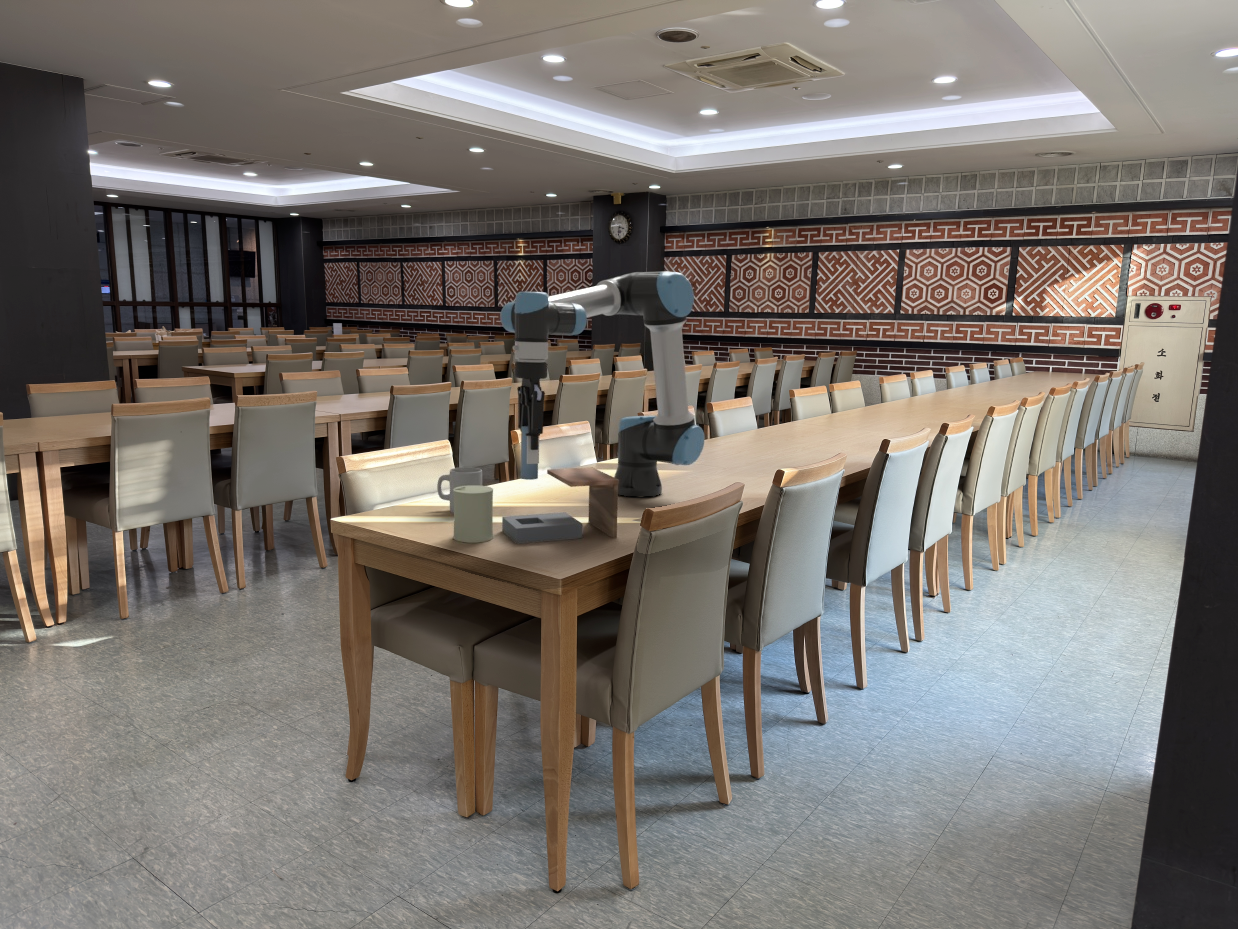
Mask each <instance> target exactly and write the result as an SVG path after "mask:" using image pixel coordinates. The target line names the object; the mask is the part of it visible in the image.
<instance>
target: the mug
mask: <svg viewBox="0 0 1238 929" xmlns="http://www.w3.org/2000/svg"><path fill="white" fill-rule="evenodd" d="M444 481H447V482H449V493H448V494H447V493H446V494H445V493H444V492H443V490H442V484H443V482H444ZM436 485H437V487H436V489H437V495H438V496H439V498H440V499H441V500H444V501H448V502H449V511H450V513H452V514H454V494H453V489H454V488H456V487H460V486H468V485H480V486H483V470H482V469H481V468H479V467H471V466H469V467H468V466H465V467H464V466H463V467H462V466H461V467H454V468H451V469H450V470H449V473H447V474H442V475H441V476H440V477H438V480H437V484H436Z"/></svg>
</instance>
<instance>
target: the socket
mask: <svg viewBox="0 0 1238 929" xmlns="http://www.w3.org/2000/svg"><path fill="white" fill-rule="evenodd" d="M501 519H502V523H501V526H502V527H501V529H502V532H503V533H504V534H505V535H506V536H508V538H510V540H512V541H513V542H514V543H515V544H525V543H526V544H527V543H537V542H538V543H539V542H550V541H563V540H572V539H583V523H582V522H581V521H579V520H578V519H576V518H575V517H573V516H572V515H570V514H569V513H567V512H565V511H564V512H552V513H551V512H550V513H535V514H534V513H533V514H524V515H523V514H518V515H506V516H502V518H501Z"/></svg>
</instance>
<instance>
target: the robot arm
mask: <svg viewBox="0 0 1238 929" xmlns="http://www.w3.org/2000/svg"><path fill="white" fill-rule="evenodd" d="M694 293H695V292H694V289H693V286H692V284H691V282H690V281H689V279H688V278H687V277H686V276H685V275H684V274H683V273H681V272H676V271H669V270H663V271H644V272H643V271H636V272H630V273H626V274H623V275H618V276H615V277H611V278H608V279H603V280H601V281H599V282H598V283H597V284H596V285H595V286H591V287H585V288H581V289H576V290H571V291H566V292H563V293H558V294H553V295H548V293H547V292H543V291H542V292H541V291H519V292H517V294H516V295H515V301H510V302H508V303H506V304H505V305H504V306H503V307H502V309H501V311H500V321H501V322H500V323H501V325H502V327H503V329H505V331H507V332H509V333H514V345H512V350H513V351H514V359H515V360H517V361H515V362H514V369H513V370H514V377H515V378H517V379H521V385H520V386H517V389H516V390H517V398H518V399H517V407H518V409H517V414H518V415H517V416H518V419H517V424H518V425H517V427H518V429H519V430H520V432H521V427H522V426H528V430H529V433H526V436H527V464H538V465H539V464H540V436H541V435H543V433H544V406H545V404H544V402H545V395H546V392H545V390H542V387H541V383H540V381H541V379H547V378H548V363H547V362H546V361H547V360H548V359H549V336H550V335H555V336H568V337H569V336H573V335H575V336H577V335H579V334H581V333H582V332H583V331H584V330H585V329H586V326H587V321H588V319H587V318H591V317H595V316H599V315H604V316H609V317H611V316H615V315H631V316H643V324H644V326H645V328H647V329H649V332H650V342H651V352H652V353H651V354H652V361H653V364H652V365H653V373H654V385H655V395H656V397H655V398H656V405H657V414H656V415H654V414H653V415H651V414H650V415H635V416H626V417H622V418H620V420H619V424H618V431H617V434H618V435H617V437H618V441H617V442H618V443H617V444H618V445H617V446H618V447H617V450H618V451H617V468H616V471H615V474H614V476H613V477H614V478H616V479H618V480H619V484H618V494H619V495H618V496H620V495H624V496H623V497H626V496H653V497H656V496H655V495H658V496H660V495H661V493H662V492H663V486H662V482H661V479H660V475H659V470H658V462H660V463H667V464H671V465H675V466H690V465H693V464H694V463H695V462H697V460H698V459H699V457H700V456H701V455H702V454H701V453H703V449H704V446H705V438H706V437H705V433H704V430H703V428H702V427H701V426H699V425H696V422H695V420H696V419H695V415H694V414H693V413H692V412H690V411H689V401H688V389H687V380H686V379H687V378H686V368H685V367H686V366H685V365H686V364H685V355H684V354H685V353H684V343H683V341H684V339H683V329H682V328H683V326H684V325H685V323H686V322H687V321H688V320H687V316H688V315H689V314H690V313H691V312H692V309H693V305H694V302H695V295H694ZM659 494H660V495H659ZM662 494H663V493H662Z"/></svg>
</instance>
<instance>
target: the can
mask: <svg viewBox="0 0 1238 929" xmlns="http://www.w3.org/2000/svg"><path fill="white" fill-rule="evenodd" d="M453 494H454V513H453V537H452V539H454V541H457V542H459V543H468V544H471V543H472V544H473V543H475V544H478V543H484V542H489V541H491V540H493V539H494V531H493V530H494V528H493V527H494V526H493V525H494V524H493V523H494V522H493V519H494V518H493V515H494V514H493V512H494V510H493V506H494V505H493V504H494V499H493V498H494V497H493V496H494V488H493V487H491V486H488V485H482V486H480V485H468V486H460V487H456V488H454V489H453Z"/></svg>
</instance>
